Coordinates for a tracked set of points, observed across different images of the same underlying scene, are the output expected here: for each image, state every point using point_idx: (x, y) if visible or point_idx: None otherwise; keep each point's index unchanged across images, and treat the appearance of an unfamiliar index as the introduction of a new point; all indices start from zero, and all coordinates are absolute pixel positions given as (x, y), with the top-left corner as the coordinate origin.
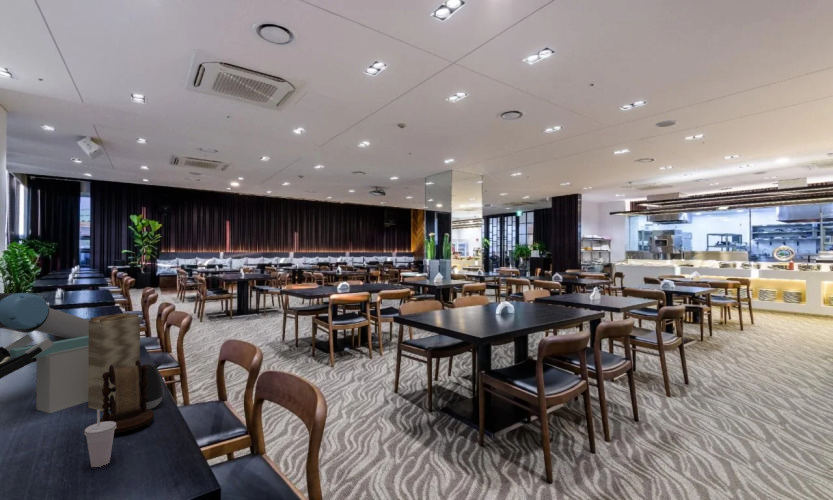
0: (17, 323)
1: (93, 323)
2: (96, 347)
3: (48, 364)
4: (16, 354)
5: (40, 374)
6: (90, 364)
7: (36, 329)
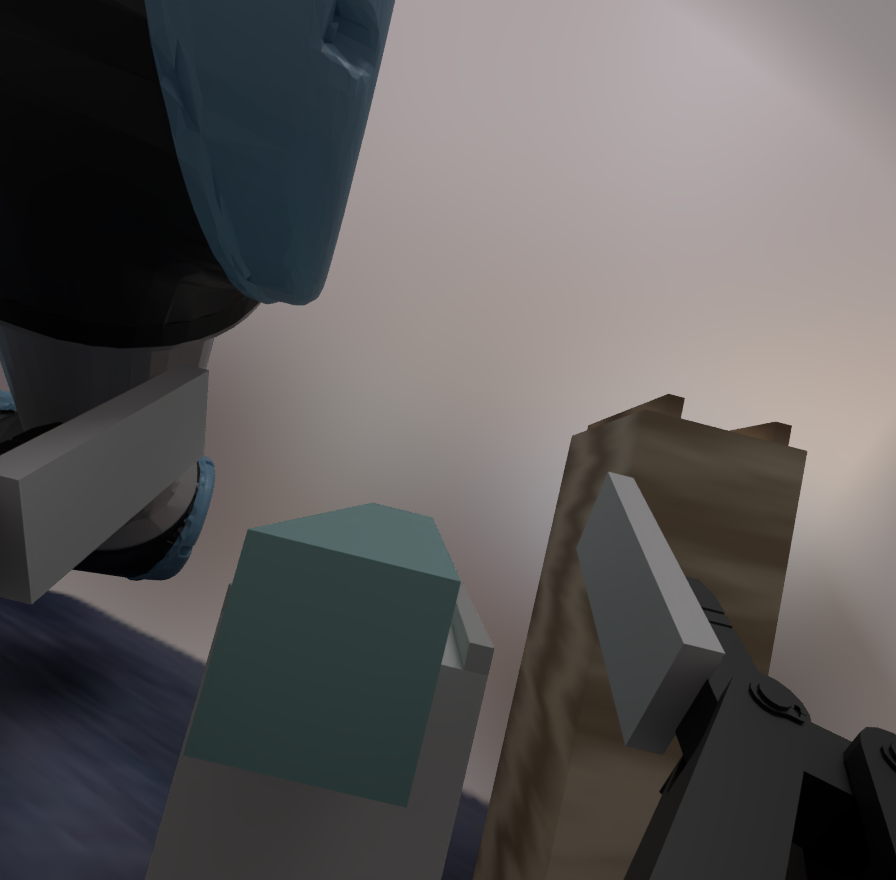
0: (342, 149)
1: (699, 438)
2: None
3: (442, 767)
4: (441, 658)
5: (238, 875)
6: (599, 742)
7: (179, 346)
